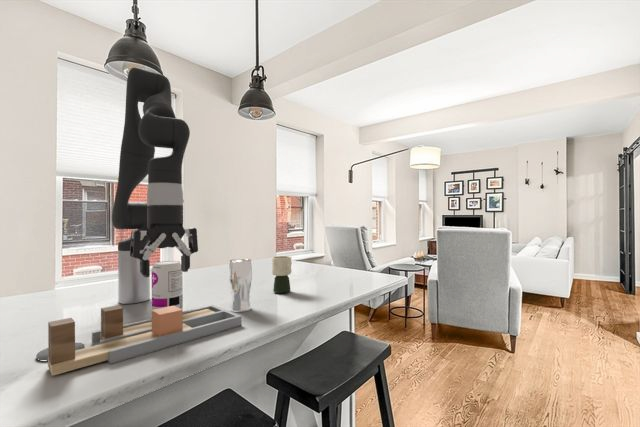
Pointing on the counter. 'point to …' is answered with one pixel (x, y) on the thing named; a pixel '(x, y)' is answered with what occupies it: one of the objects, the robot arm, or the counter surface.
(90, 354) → the oak strip
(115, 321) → the oak strip
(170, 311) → the rust cube
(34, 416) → the counter surface
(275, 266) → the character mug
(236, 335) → the counter surface
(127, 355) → the lane frame
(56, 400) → the counter surface
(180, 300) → the supplement can
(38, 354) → the slate coaster
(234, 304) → the beer glass
